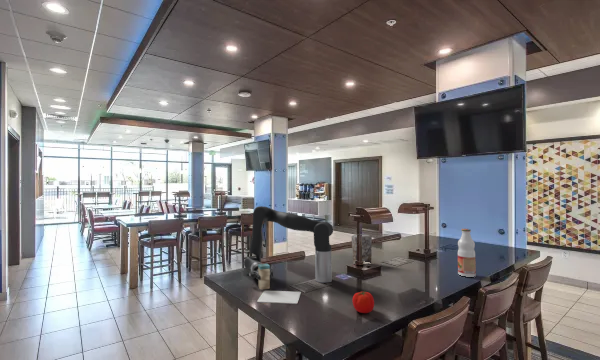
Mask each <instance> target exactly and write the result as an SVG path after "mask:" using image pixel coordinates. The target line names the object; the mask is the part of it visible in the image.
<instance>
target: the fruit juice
mask: <svg viewBox="0 0 600 360" xmlns="http://www.w3.org/2000/svg"><path fill="white" fill-rule="evenodd" d="M471 232H472V230H471V229H470V228H461V236H460V238H459V239H458V241H457V247H458V248H457V249H458V250H457V275H458V274H459V275H461V276H466V277H474V276H475V277H476V275H477V273H476V272H477V271H476V269H477V268H476V266H477V263H476V251H475V247H476V244H475V240H474V239H473V238H472V236H471ZM459 275H458V276H459ZM461 276H460V277H461ZM475 277H474V278H475Z"/></svg>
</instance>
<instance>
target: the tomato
mask: <svg viewBox="0 0 600 360" xmlns="http://www.w3.org/2000/svg"><path fill="white" fill-rule="evenodd" d="M352 305H353V308H354V309H355V311H356V312H359V313H360V314H368V313H371V312H372V311H373V309H374V307H375V299H374V296H373V295H372V293H370V292H367V291H366V289H365V290H364V291H360V292H355V293H354V294H353V296H352Z"/></svg>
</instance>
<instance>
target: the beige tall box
mask: <svg viewBox="0 0 600 360" xmlns="http://www.w3.org/2000/svg"><path fill="white" fill-rule="evenodd" d="M270 270H271V267H270V264H268V263H262V264H258V273H259V275H260V276H261V280H258V279H257V280H258V281H257V283H258V288H259V290H260V291H262V290H269V289H270V288H271V287H270V286H271V283H270V282H271V279H270Z"/></svg>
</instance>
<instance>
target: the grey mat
mask: <svg viewBox="0 0 600 360" xmlns="http://www.w3.org/2000/svg"><path fill="white" fill-rule="evenodd" d="M301 295H302V292H301V291H287V290H286V291H285V290H283V291H282V290H264V291H263V292H262V294H261V295H260V296H259V298H258V299H257V301H256V303H265V304H267V303H268V304H285V305H286V304H288V305H289V304H291V305H292V304H293V305H297V304H298V302H299V300H300V297H301Z"/></svg>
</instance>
